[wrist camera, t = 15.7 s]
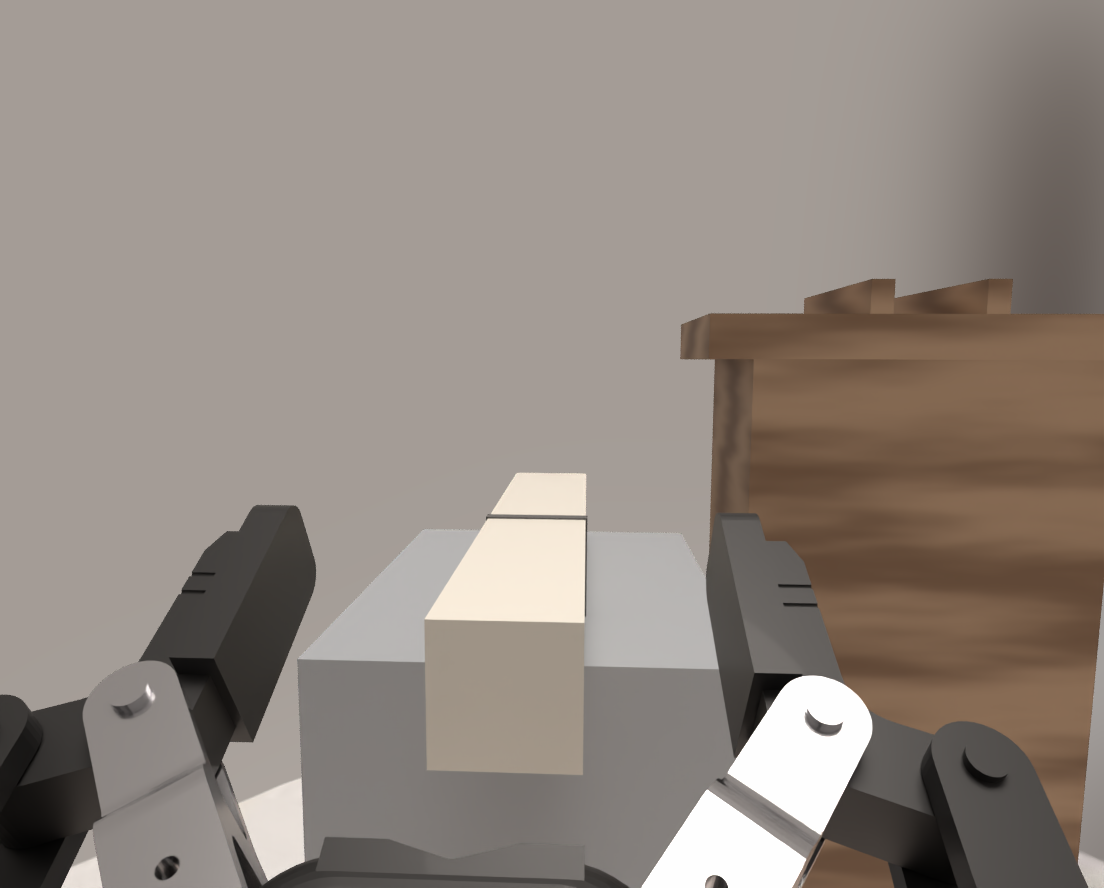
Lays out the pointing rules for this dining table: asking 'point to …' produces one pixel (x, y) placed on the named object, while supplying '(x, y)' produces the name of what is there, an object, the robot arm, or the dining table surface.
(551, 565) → the domino bar
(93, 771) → the robot arm
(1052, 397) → the walnut shelf
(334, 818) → the grey step block
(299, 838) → the dining table surface
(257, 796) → the dining table surface
